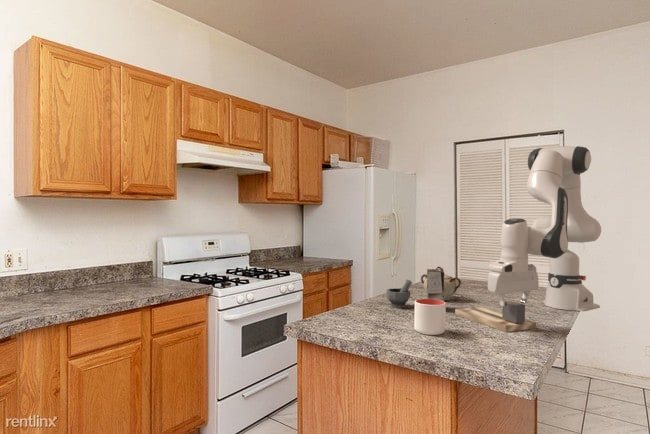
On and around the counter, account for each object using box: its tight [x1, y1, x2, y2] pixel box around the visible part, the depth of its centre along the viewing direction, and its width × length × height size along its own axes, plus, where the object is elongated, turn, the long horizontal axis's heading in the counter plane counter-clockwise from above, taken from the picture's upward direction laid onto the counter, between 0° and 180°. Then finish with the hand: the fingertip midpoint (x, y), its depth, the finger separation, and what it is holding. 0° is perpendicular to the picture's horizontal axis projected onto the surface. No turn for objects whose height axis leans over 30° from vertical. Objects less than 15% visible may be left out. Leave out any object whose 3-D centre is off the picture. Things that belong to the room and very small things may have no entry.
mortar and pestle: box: [386, 279, 413, 309], centre depth 168 cm, size 11×9×12 cm
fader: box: [501, 300, 526, 323], centre depth 139 cm, size 4×6×6 cm, turn 22°
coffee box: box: [426, 268, 445, 302], centre depth 166 cm, size 9×6×16 cm
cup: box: [414, 298, 447, 336], centre depth 133 cm, size 10×10×10 cm
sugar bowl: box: [420, 266, 462, 301], centre depth 186 cm, size 20×15×15 cm
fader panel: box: [454, 306, 537, 333], centre depth 148 cm, size 14×25×2 cm, turn 22°
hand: (513, 304), depth 140 cm, fingers open, 8 cm apart
